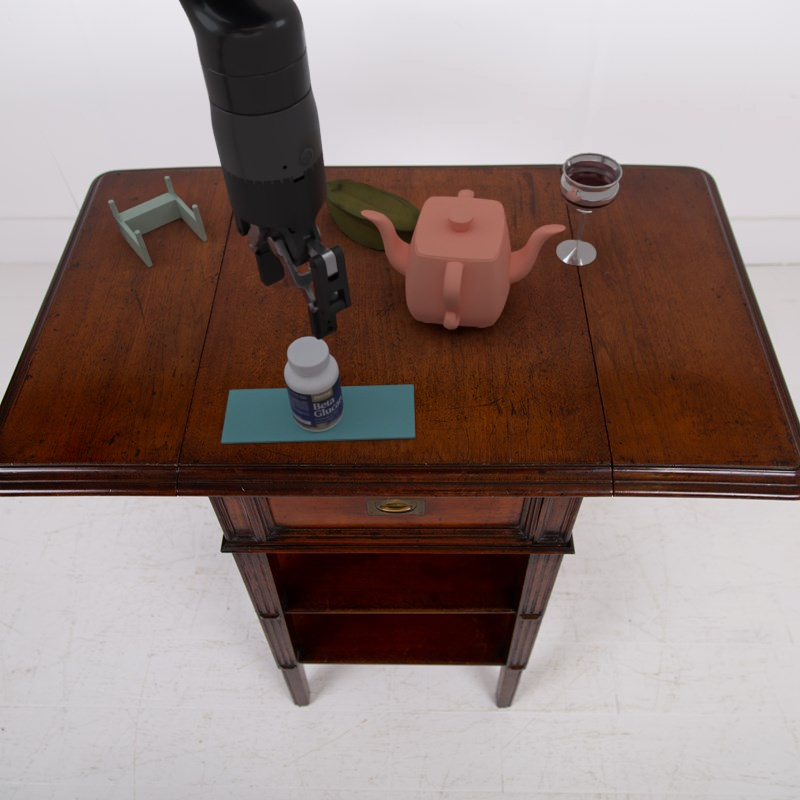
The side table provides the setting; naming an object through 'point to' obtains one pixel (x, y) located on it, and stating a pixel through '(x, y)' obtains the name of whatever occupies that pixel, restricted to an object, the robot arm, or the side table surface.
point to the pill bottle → (313, 385)
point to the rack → (155, 219)
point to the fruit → (356, 197)
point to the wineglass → (587, 198)
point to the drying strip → (362, 420)
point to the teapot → (459, 259)
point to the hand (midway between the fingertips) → (298, 306)
